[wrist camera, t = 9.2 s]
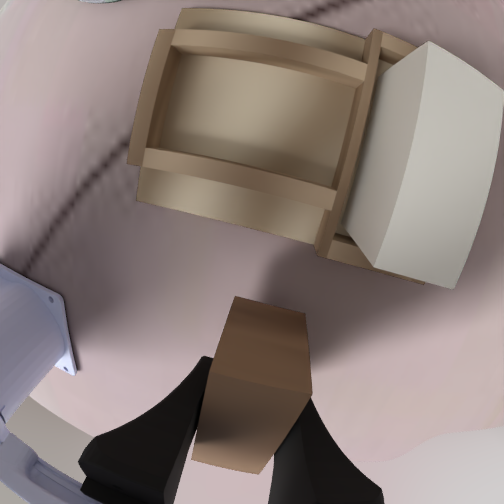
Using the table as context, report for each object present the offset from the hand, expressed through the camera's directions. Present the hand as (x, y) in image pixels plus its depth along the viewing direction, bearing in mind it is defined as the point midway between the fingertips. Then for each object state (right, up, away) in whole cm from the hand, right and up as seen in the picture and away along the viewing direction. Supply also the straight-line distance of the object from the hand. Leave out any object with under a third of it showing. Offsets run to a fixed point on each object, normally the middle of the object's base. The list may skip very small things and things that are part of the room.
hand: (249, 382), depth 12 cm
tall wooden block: (0, +1, +2) cm, 2 cm away
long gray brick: (+6, +10, -1) cm, 12 cm away
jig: (+3, +11, -1) cm, 12 cm away
